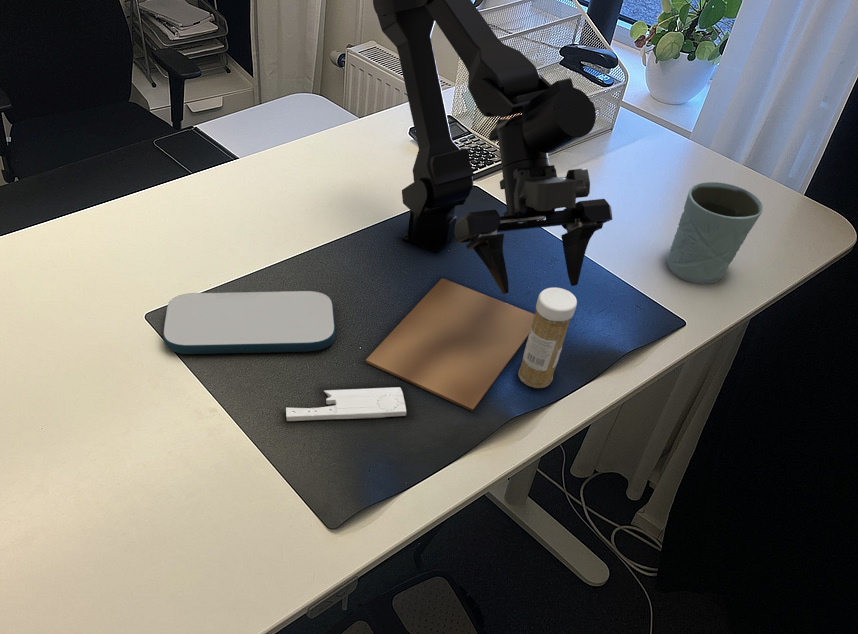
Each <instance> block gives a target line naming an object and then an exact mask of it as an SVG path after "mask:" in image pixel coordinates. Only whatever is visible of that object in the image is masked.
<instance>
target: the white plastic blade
mask: <svg viewBox="0 0 858 634" xmlns="http://www.w3.org/2000/svg"><path fill="white" fill-rule="evenodd" d="M323 393H325V395H326V396H327V397H326V399H325V404H326V405H328V406H320V407H308V408H307V407H285V414H286V415H285V417H286V422H299V421H301V422H302V421H321V420H323V421H324V420H346V419H347V420H350V419H352V420H353V419H368V418H376V419H381V418H387V417H388V418H389V417H406V416H407V407H406V401H405V398H404V392H403V390H402V388H401V387H400V386H399V387H398V386H395V387H394V386H393V387H373V388H350V389H349V388H348V389H347V388H346V389H327V390H323Z"/></svg>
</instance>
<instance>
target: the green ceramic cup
mask: <svg viewBox="0 0 858 634" xmlns="http://www.w3.org/2000/svg"><path fill="white" fill-rule="evenodd" d="M683 210H684V211H683V212H682V213H681V216H680V218H679V222H678V227H677V228H676V231H675V234H674V238H673V240H672V243H671V246H670V250H669V252H668V255H667V258H666V265H667V268H668V270H669V271H670V272H671V273H672V274H673V275H675V276H676V277H678V278H680V279H681V280H684V281H686V282H689V283H692V284H693V283H694V284H699V285H709V284H710V285H711V284H714V283H717V282H719V281H720V280H721V279H723V277H724V276H725V274H726V272H727V271H728V269H729V266H730V264H731V263H732V262H733V260H734V258H735V257H736V255H737V253H738V252H739V251H740V248H741V246H742V245H743V244H744V242H745V240H746V239H747V236H748V234H749V233H750V232H751V230H752V229H753V227H754V226H755V224H756V223H757V221H758V219H759V218H760V216H761V215H762V213H763V211H764V205H763V203H762V201H761V199H760V198H758V196H756V195H755V194H754V193H753V192H751V191H749V190H747V189H745V188H743V187H741V186H738V185H735V184H730V183H726V182H718V181H706V182H700V183H697V184H695V185H693V186H692V187H691V188H689V190H688V193H687V195H686V200H685V203H684V207H683Z"/></svg>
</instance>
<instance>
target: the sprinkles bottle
mask: <svg viewBox="0 0 858 634" xmlns="http://www.w3.org/2000/svg"><path fill="white" fill-rule="evenodd" d="M577 305H578V300H577V298H576V296H575V294H573V292H571V291H569V290H567V289H565V288H561V287H547V288H545V289H543V290H542V291H541V292H539V294H538V297H537V300H536V304H535V313H534V314H535V317H534V320H533V323H532V326H531V329H530V333H529V336H528V337H527V339H526V343H525V348H524V351H523V355H522V361H521V364H520V367H519V370H518V372H517V375H518V378H519V380H520V382H522V383H523V385H526V386H527V387H530V388H533V389H544V388H547V387H548V386H549V385H551V383H553V378H554V373H555V370H556V367H557V365H558V362H559V359H560V357H561V353H562V350H563V344H564V342H565V339H566V335H567V332H568V329H569V326H570V322H571V320H572V318H573V316H574V315H575V312H576V309H577Z"/></svg>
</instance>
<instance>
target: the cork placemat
mask: <svg viewBox="0 0 858 634" xmlns="http://www.w3.org/2000/svg"><path fill="white" fill-rule="evenodd" d="M534 317H535V313H533V312H531V311H527V310H524V309H522V308H520V307H518V306H515V305H512V304H510V303H507V302H504V301H502V300H499V299H497V298H494V297H492V296H489V295H487V294H484V293H482V292H479V291H477V290H474V289H472V288H469V287H466V286H465V285H464V286H463V285H461V284H460V283H459V284H458V283H456V282H453V281H451V280H448V279H447V278H443V277H441V278H440V279H439V281H437V283H436V284H435V285H433V287H432V288H430V290H429V291H428V292H427V294H425V295H424V296H423V298H422V299H421V300H420V301H419V302H418V303H417V304H416V305H415V306H414V307H413V308H412V309H411V311H409V313H408V314H407V315H406V316H405V317H404V318H403V319H402V320H401V321H400V323H398V324H397V326H396V327H395V328H393V330H392V331H391V332H390V333H389V334H388V335H387V336H386V337H385V338H384V339H383V340H382V342H381V343H380V344H379V345H378V346H377V347H376V348H375V349H374V350H373V351H372V353H371V354H370V355H368V357H367V358H366V359H365V363H366V364H368V365H370V366H372V367H375V368H376V369H379V370H381V371H383V372H385V373H388V374H390V375H391V376H394V377H397V378H398V379H401V380H403V381H404V382H407V383H409V384H412V385H413V386H416V387H418V388H419V389H423V390H424V391H427V392H429V393H431V394H433V395H435V396H438V397H440V398H442V399H444V400H446V401H449V402H450V403H452V404H455V405H457V406H460V407H462V408H463V409H466V410H468V411H470V412H474V411H475V409H476V408H477V407H478V405H479V404H480V402H481V401H482V400H483V398H484V397H485V396H486V394H487V393H488V391H489V390H490V389H491V387H492V386H493V385H494V384H495V382H496V381H497V379H498V378H499V377H500V375H501V374H502V373H503V371H505V368H506V367H507V366H508V364H509V363H510V362H511V360H512V359H513V358H514V356H515V355H516V353H517V352H518V350H520V348H521V347H522V345H523V344H524V343H525V342H526V341H527V339H528V336H529V333H530V329H531V326H532V323H533V320H534Z"/></svg>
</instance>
